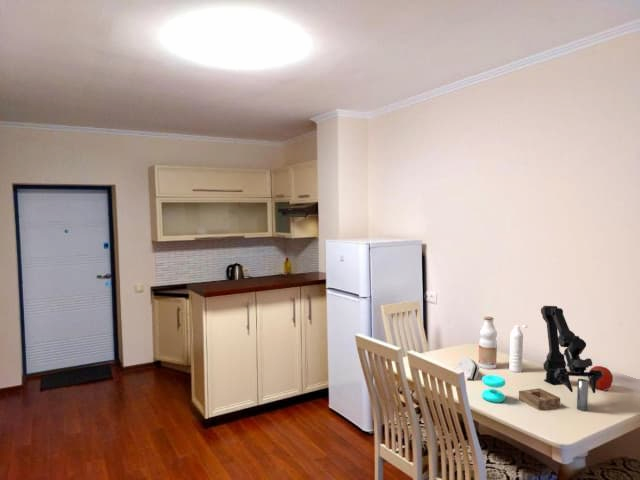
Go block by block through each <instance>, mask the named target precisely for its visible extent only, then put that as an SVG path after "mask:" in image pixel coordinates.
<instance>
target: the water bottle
mask: <svg viewBox="0 0 640 480" xmlns="http://www.w3.org/2000/svg"><path fill="white" fill-rule="evenodd" d="M521 327H522V328H523V329H526V328H528V325H527V324H526V325H525V324H522V325H521ZM523 344H524V334H523V332H522V330H521V329H520V325H518V324H517V325H514V328H512V330H511V332H510V333H509V359H508V361H509V363H508V364H509V365H508V370H509V371H511V372H513V373H521V372H522V371H523V350H524V349H523V347H524V345H523Z"/></svg>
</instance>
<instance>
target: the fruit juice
mask: <svg viewBox="0 0 640 480" xmlns="http://www.w3.org/2000/svg"><path fill="white" fill-rule="evenodd" d="M483 320H484V323H483V325H482V327H481V329H480V330H479V337H480V338H479V341H478V366H479V368H481V369H485V370H493V369H496V368H497V357H498V356H497V354H498V349H497V348H498V343H497V336H498V333H497V330H496V327H495V325H494V317H492V316H484V317H483Z"/></svg>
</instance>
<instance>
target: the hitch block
mask: <svg viewBox="0 0 640 480" xmlns="http://www.w3.org/2000/svg"><path fill="white" fill-rule="evenodd" d="M518 400H519V401H521V402H523V403H525V404H527V405H528V406H530V407H532V408H534V409H535V410H537V411H541V410H549V409H555V408H560V407H561V398H560V396H557V395H555V394H553V393H551V392H548V391H547V390H545V389H543V388H540V387H539V388H532V389H531V388H530V389H523V390H519V391H518Z"/></svg>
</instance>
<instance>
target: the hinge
mask: <svg viewBox="0 0 640 480" xmlns="http://www.w3.org/2000/svg"><path fill="white" fill-rule="evenodd" d="M454 369H456V370H459V371H464V373H465V377H466V380H465V381H468V380H469V379H470V380H473V381H477V378H478V375H479V371H480V366H479V363H477V362H476V361H475V360H474V359H472V358H470V357H466V356H461V357H460V358H459V361H458V363H457V364H456V366H454V368H453V370H454Z"/></svg>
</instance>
